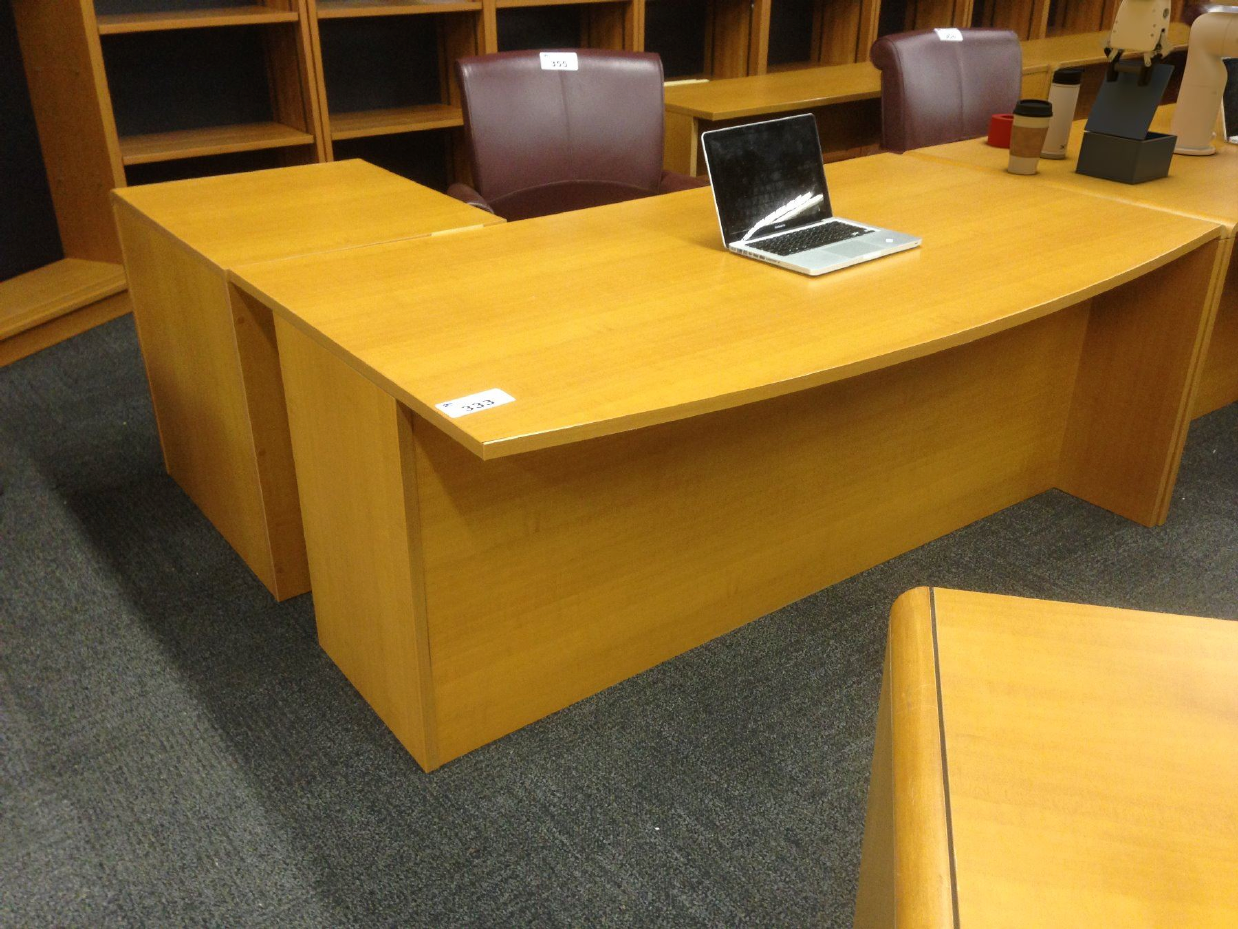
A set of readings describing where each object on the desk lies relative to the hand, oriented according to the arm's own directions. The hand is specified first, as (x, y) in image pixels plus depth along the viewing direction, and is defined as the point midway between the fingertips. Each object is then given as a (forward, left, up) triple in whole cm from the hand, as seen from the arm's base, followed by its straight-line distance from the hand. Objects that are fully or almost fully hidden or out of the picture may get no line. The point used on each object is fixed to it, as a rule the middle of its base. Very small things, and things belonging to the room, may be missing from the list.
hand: (1127, 82), depth 222 cm
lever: (-16, -31, -20) cm, 40 cm away
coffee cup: (+10, -14, -20) cm, 27 cm away
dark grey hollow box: (-6, 0, -20) cm, 21 cm away
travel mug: (-10, -20, -20) cm, 30 cm away
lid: (-2, 0, -4) cm, 4 cm away
